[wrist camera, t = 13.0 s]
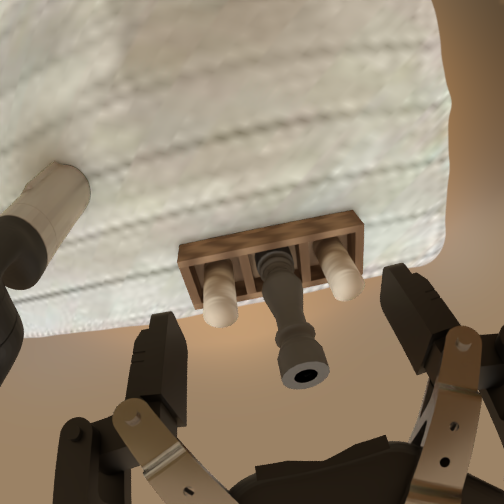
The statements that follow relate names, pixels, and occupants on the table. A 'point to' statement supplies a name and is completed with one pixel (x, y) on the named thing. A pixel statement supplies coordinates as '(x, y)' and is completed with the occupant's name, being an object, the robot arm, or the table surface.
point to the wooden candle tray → (287, 234)
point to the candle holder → (290, 321)
